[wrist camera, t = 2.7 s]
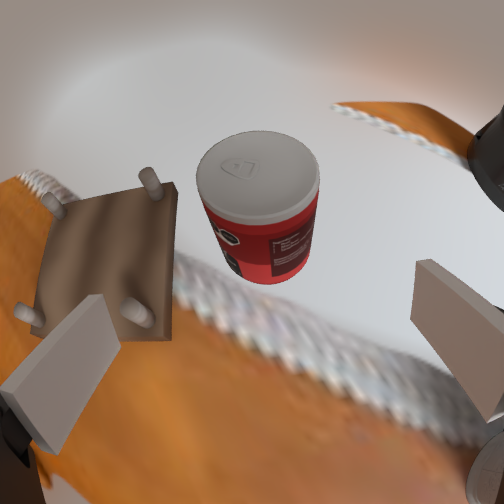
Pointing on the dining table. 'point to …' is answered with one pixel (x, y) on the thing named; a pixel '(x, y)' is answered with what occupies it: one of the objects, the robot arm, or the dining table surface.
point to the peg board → (110, 260)
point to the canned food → (261, 203)
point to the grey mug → (486, 472)
